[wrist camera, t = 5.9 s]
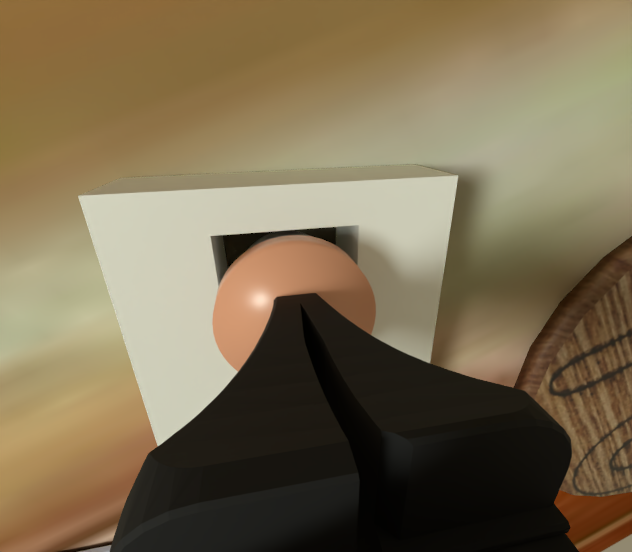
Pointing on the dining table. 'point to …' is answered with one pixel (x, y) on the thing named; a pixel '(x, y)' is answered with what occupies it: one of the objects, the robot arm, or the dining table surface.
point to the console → (253, 217)
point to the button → (285, 288)
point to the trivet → (590, 376)
